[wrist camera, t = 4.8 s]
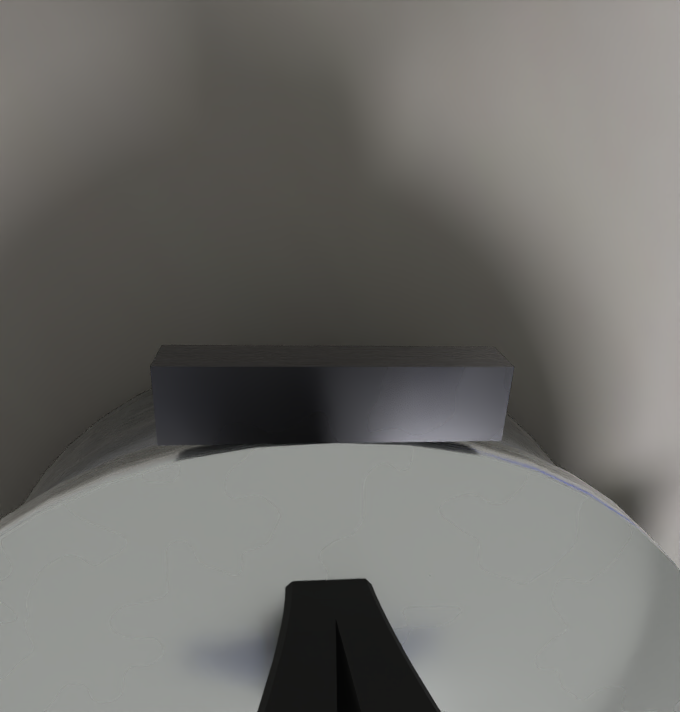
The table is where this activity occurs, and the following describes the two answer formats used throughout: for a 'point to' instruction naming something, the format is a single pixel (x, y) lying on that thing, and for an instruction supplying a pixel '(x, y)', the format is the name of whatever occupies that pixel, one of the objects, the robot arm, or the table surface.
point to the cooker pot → (138, 431)
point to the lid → (332, 544)
